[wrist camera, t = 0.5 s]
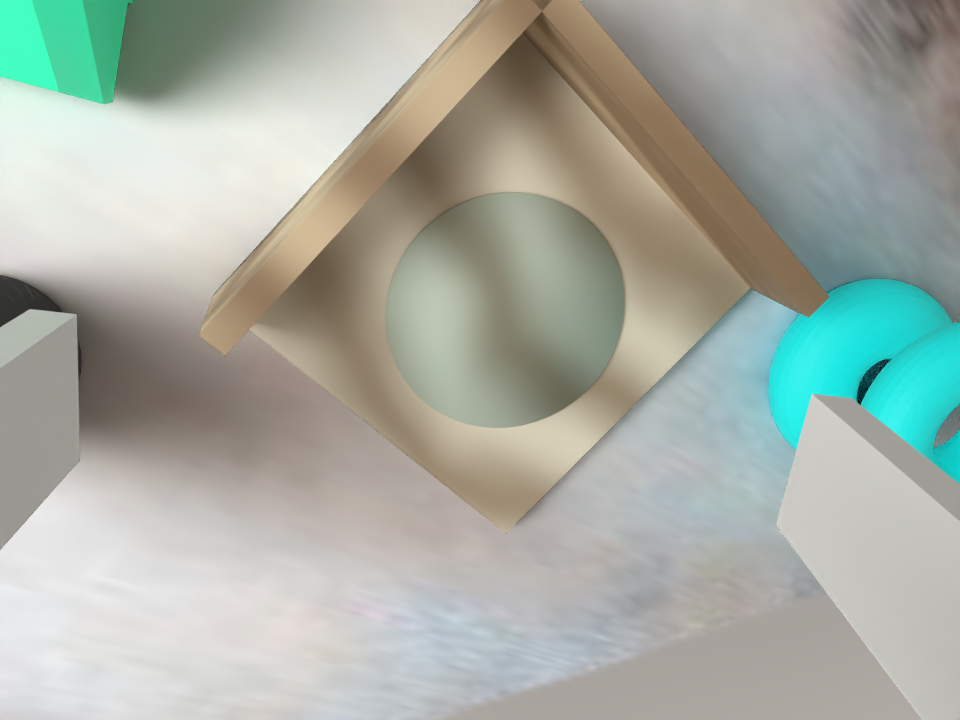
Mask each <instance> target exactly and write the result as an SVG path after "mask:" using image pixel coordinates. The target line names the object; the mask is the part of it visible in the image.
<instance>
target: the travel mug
mask: <svg viewBox="0 0 960 720" xmlns="http://www.w3.org/2000/svg"><path fill="white" fill-rule="evenodd" d="M29 309H33V310H42V311H52V312H61V313H63V312H62V311H61V310H60V309H59V308H58V307H57V305H56V304H55V303H54V302H52V301H51V300H50V299H49V298H48V297H46V296H45V295H44V294H42V293H41V292H39V291H38V290H36V289H34V288H33V287H31V286H29V285H27V284H25V283H22V282H20V281H17V280H14V279H11V278H7V277H3V276H0V327H2V326H3V325H5V324H7V323H8V322H10V321H11V320H13V319H15V318H16V317H18V316H20V315H21V314H23V313H25V312H26V311H28V310H29ZM77 344H78V382H79V377H80V373H81V351H80V347H79V342H78V339H77Z"/></svg>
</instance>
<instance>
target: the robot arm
mask: <svg viewBox="0 0 960 720" xmlns="http://www.w3.org/2000/svg"><path fill="white" fill-rule="evenodd" d="M79 461H80V437H79V391H78V344H77V314H70V313H61V312H52V311H42V310H33V309H29V310H28V311H26V312H25V313H23V314H21V315H20V316H18V317H16V318H15V319H13V320H11V321H10V322H8V323H7V324H5V325H3V326H2V327H0V550H1V549H2V547H3V546H4V545H5V544H6V543H7V542H8V541H9V540H10V538H11V537H12V536H13V535H14V534H15V533H16V532H17V531H18V529H19V528H20V527H21V526H22V525H23V524H24V523H25V522H26V520H27V519H28V518H29V517H30V516H31V515H32V514H33V513H34V511H35V510H36V509H37V508H38V507H39V506H40V505H41V504H42V502H43V501H44V500H45V499H46V498H47V497H48V496H49V495H50V493H51V492H52V491H53V490H54V489H55V488H56V487H57V486H58V484H59V483H60V482H61V481H62V480H63V479H64V478H65V477H66V475H67V474H68V473H69V472H70V471H71V470H72V469H73V467H74V466H75V465H76V464H77V463H78V462H79ZM776 526H777V527H778V528H779V530H780V531H781V532H782V534H783V535H784V536H785V538H786V539H787V540H788V542H789V543H790V544H791V546H792V547H793V548H794V550H795V551H796V552H797V554H798V555H799V556H800V558H801V559H802V560H803V562H804V563H805V564H806V566H807V567H808V568H809V570H810V571H811V572H812V574H813V575H814V576H815V578H816V579H817V580H818V582H819V583H820V584H821V586H822V587H823V588H824V590H825V591H826V592H827V594H828V595H829V596H830V598H831V599H832V600H833V602H834V603H835V604H836V605H837V607H838V608H839V610H840V611H841V612H842V614H843V615H844V616H845V618H846V619H847V620H848V622H849V623H850V624H851V626H852V627H853V628H854V630H855V631H856V632H857V634H858V635H859V636H860V638H861V639H862V640H863V642H864V643H865V644H866V646H867V647H868V648H869V650H870V651H871V653H872V654H873V655H874V657H876V659H877V661H878V662H879V663H880V664H881V666H882V667H883V669H884V670H885V671H886V672H887V674H888V675H889V677H890V678H891V679H892V681H893V682H894V683H895V685H896V686H897V687H898V689H899V690H900V691H901V692H902V694H903V695H904V696H905V698H906V699H907V701H908V702H909V703H910V705H911V706H912V707H913V709H914V710H915V711H916V712H917V714H918V715H919V717H920V718H921V719H922V720H960V484H959V483H958V482H956V481H955V480H954V479H953V478H951V477H950V476H949V475H948V474H946V473H945V472H944V471H943V470H941V469H940V468H939V467H938V466H936V465H935V464H934V463H933V462H931V461H930V460H929V459H927V458H926V457H925V456H924V455H922V454H921V453H920V452H919V451H917V450H916V449H915V448H914V447H912V446H911V445H910V444H909V443H907V442H906V441H905V440H904V439H902V438H901V437H900V436H899V435H897V434H896V433H895V432H893V431H892V430H891V429H890V428H888V427H887V426H886V425H885V424H883V423H882V422H881V421H880V420H878V419H877V418H876V417H875V416H873V415H872V414H871V413H870V412H868V411H867V410H866V409H864V408H863V407H862V406H861V405H859V404H858V403H857V402H856V401H854V400H853V399H852V398H846V397H837V396H828V395H818V394H812V396H811V399H810V403H809V407H808V410H807V414H806V417H805V421H804V424H803V428H802V432H801V435H800V439H799V442H798V446H797V450H796V453H795V457H794V460H793V464H792V468H791V471H790V475H789V478H788V482H787V486H786V489H785V493H784V496H783V500H782V504H781V507H780V511H779V514H778V518H777V522H776Z"/></svg>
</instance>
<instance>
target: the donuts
mask: <svg viewBox="0 0 960 720" xmlns="http://www.w3.org/2000/svg"><path fill="white" fill-rule="evenodd" d="M827 295H828V296H829V298H828V299H827V300H826V301H825V302H824V303H823V304H822V305H821V306H820V307H819V308H818V309H817V310H816V311H815V312H814V313H813V314H812V315H811V316H810V317H809V318H808V317H806V316H804V315H802V314H800V315H799V316H798V317H797V318H796V319H795V320H794V321H793V323H792V324H791V325H790V326H789V328H788V329H787V331H786V332H785V334H784V336H783V337H782V339H781V341H780V343H779V345H778V347H777V350H776V352H775V355H774V358H773V361H772V364H771V369H770V374H769V384H768V389H769V403H770V408H771V412H772V416H773V418H774V421H775V423H776V425H777V427H778V429H779V431H780V432H781V434H782V435H783V437H784V438H785V440H786V441H787V442H788V443H789V444H790V445H791V446H792V447H793V448H794V449H795V450H797V446H798V442H799V439H800V435H801V432H802V428H803V424H804V421H805V417H806V414H807V410H808V407H809V403H810V399H811V396H812V394H818V395H828V396H837V397H846V398H852V399H853V400H854V401H856V402H857V390H858V387H859V383H860V381H861V379H862V377H863V376H864V374H865V373H866V372H867V371H868V370H869V369H870V368H871V367H872V366H873V365H875V364H876V363H878V362H879V361H882V360H884V359H891V360H890V361H889V362H888V363H887V364H886V366H885V367H884V368H883V369H882V370H881V371H880V373H879V374H878V375H877V377H876V378H875V379H874V381H873V382H872V384H871V386H870V387H869V389H868V391H867V392H866V394H865V396H864V398H863V400H862V403H861V406H862V407H863V408H864V409H866V410H867V411H868V412H870V413H871V414H872V415H873V416H875V417H876V418H877V419H878V420H880V421H881V422H882V423H883V424H885V425H886V426H887V427H888V428H890V429H891V430H892V431H893V432H895V433H896V434H897V435H899V436H900V437H901V438H902V439H904V440H905V441H906V442H907V443H909V444H910V445H911V446H912V447H914V448H915V449H916V450H917V451H919V452H920V453H921V454H922V455H924V456H925V457H926V458H927V459H929V460H930V461H931V462H933V463H934V464H935V465H936V466H938V467H939V468H940V469H941V470H943V471H944V472H945V473H946V474H948V475H949V476H950V477H951V478H953V479H954V480H955V481H956V482H958V483H959V484H960V430H959V431H958V432H957V433H956V434H955V436H954V437H952V438H951V439H950V440H949V441H947V442H946V443H944V444H943V445H940V446H938V447H935V448H933V444H934V441H935V438H936V435H937V432H938V430H939V428H940V427H941V425H942V423H943V422H944V420H945V419H946V418H947V416H948V415H949V414H950V413H951V412H952V411H953V410H954V409H955V408H956V407H957V406H958V405H959V404H960V322H956V323H952V321H951V319H950V317H949V316H948V314H947V313H946V311H945V310H944V309H943V307H942V306H941V305H940V304H939V303H938V302H937V301H936V300H935V299H934V298H933V297H931V296H930V295H929V294H927V293H926V292H925V291H923V290H921V289H919V288H917V287H915V286H913V285H910V284H907V283H904V282H901V281H897V280H891V279H867V280H860V281H856V282H852V283H849V284H846V285H843V286H840V287H838V288H836V289H834V290H832V291H830V292H828V293H827Z"/></svg>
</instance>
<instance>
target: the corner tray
mask: <svg viewBox="0 0 960 720" xmlns="http://www.w3.org/2000/svg"><path fill="white" fill-rule="evenodd" d="M750 288H751V289H753V290H755V291H756V292H758V293H760V294H762V295H764V296H766V297H768V298H770V299H772V300H774V301H776V302H778V303H780V304H782V305H784V306H786V307H788V308H790V309H792V310H794V311H796V312H798V313H800V314H802V315H804V316H806V317H808V318H809V317H810V316H811V315H812V314H813V313H814V312H815V311H816V310H817V309H818V308H819V307H820V306H821V305H822V304H823V303H824V302H825V301H826V300H827V299H828V298H829V296H828V295H827V293H826V292H825V291H824V290H823V289H822V287H821V286H820V285H819V284H818V283H817V282H816V280H815V279H814V278H813V277H812V276H811V274H810V273H809V272H808V271H807V270H806V268H805V267H804V266H803V265H802V264H801V263H800V261H799V260H798V259H797V258H796V257H795V255H794V254H793V253H792V252H791V251H790V250H789V248H788V247H787V246H786V245H785V244H784V242H783V241H782V240H781V239H780V238H779V237H778V235H777V234H776V233H775V232H774V231H773V229H772V228H771V227H770V226H769V225H768V224H767V222H766V221H765V220H764V219H763V218H762V216H761V215H760V214H759V213H758V212H757V211H756V209H755V208H754V207H753V206H752V205H751V203H750V202H749V201H748V200H747V199H746V197H745V196H744V195H743V194H742V193H741V192H740V190H739V189H738V188H737V187H736V186H735V184H734V183H733V182H732V181H731V180H730V179H729V177H728V176H727V175H726V174H725V173H724V171H723V170H722V169H721V168H720V167H719V166H718V164H717V163H716V162H715V161H714V160H713V158H712V157H711V156H710V155H709V154H708V153H707V151H706V150H705V149H704V148H703V147H702V145H701V144H700V143H699V142H698V141H697V139H696V138H695V137H694V136H693V135H692V134H691V132H690V131H689V130H688V129H687V128H686V126H685V125H684V124H683V123H682V122H681V121H680V119H679V118H678V117H677V116H676V115H675V113H674V112H673V111H672V110H671V109H670V108H669V106H668V105H667V104H666V103H665V102H664V100H663V99H662V98H661V97H660V96H659V95H658V93H657V92H656V91H655V90H654V89H653V87H652V86H651V85H650V84H649V83H648V81H647V80H646V79H645V78H644V77H643V76H642V74H641V73H640V72H639V71H638V70H637V68H636V67H635V66H634V65H633V64H632V63H631V61H630V60H629V59H628V58H627V57H626V55H625V54H624V53H623V52H622V51H621V50H620V48H619V47H618V46H617V45H616V44H615V42H614V41H613V40H612V39H611V38H610V37H609V35H608V34H607V33H606V32H605V31H604V29H603V28H602V27H601V26H600V25H599V23H598V22H597V21H596V20H595V19H594V18H593V16H592V15H591V14H590V13H589V12H588V10H587V9H586V8H585V7H584V6H583V5H582V3H581V2H580V1H579V0H481V1H480V2H479V3H478V4H477V5H476V6H475V7H474V8H473V9H472V11H471V12H470V13H469V14H468V15H467V16H466V17H465V18H464V19H463V20H462V22H461V23H460V24H459V25H458V26H457V27H456V28H455V29H454V30H453V31H452V33H451V34H450V35H449V36H448V37H447V38H446V39H445V40H444V41H443V42H442V44H441V45H440V46H439V47H438V48H437V49H436V50H435V51H434V52H433V53H432V55H431V56H430V57H429V58H428V59H427V60H426V61H425V62H424V63H423V64H422V66H421V67H420V68H419V69H418V70H417V71H416V72H415V73H414V74H413V75H412V77H411V78H410V79H409V80H408V81H407V82H406V83H405V84H404V85H403V86H402V88H401V89H400V90H399V91H398V92H397V93H396V94H395V95H394V96H393V97H392V99H391V100H390V101H389V102H388V103H387V104H386V105H385V106H384V107H383V108H382V110H381V111H380V112H379V113H378V114H377V115H376V116H375V117H374V118H373V119H372V121H371V122H370V123H369V124H368V125H367V126H366V127H365V128H364V129H363V130H362V132H361V133H360V134H359V135H358V136H357V137H356V138H355V139H354V140H353V142H352V143H351V144H350V145H349V146H348V147H347V148H346V149H345V150H344V151H343V153H342V154H341V155H340V156H339V157H338V158H337V159H336V160H335V161H334V162H333V164H332V165H331V166H330V167H329V168H328V169H327V170H326V171H325V172H324V173H323V175H322V176H321V177H320V178H319V179H318V180H317V181H316V182H315V183H314V184H313V186H312V187H311V188H310V189H309V190H308V191H307V192H306V193H305V194H304V195H303V197H302V198H301V199H300V200H299V201H298V202H297V203H296V204H295V205H294V206H293V208H292V209H291V210H290V211H289V212H288V213H287V214H286V215H285V216H284V217H283V219H282V220H281V221H280V222H279V223H278V224H277V225H276V226H275V227H274V228H273V230H272V231H271V232H270V233H269V234H268V235H267V236H266V237H265V238H264V239H263V241H262V242H261V243H260V244H259V245H258V246H257V247H256V248H255V249H254V250H253V252H252V253H251V254H250V255H249V256H248V257H247V258H246V259H245V260H244V261H243V263H242V264H241V265H240V266H239V267H238V268H237V269H236V270H235V271H234V272H233V274H232V275H231V276H230V277H229V278H228V279H227V280H226V281H225V282H224V283H223V285H222V286H221V287H220V288H219V289H218V290H217V291H216V292H215V293H214V295H213V298H212V300H211V303H210V306H209V308H208V311H207V314H206V316H205V319H204V322H203V324H202V327H201V330H200V332H199V335H198V336H199V337H201V338H202V339H203V340H205V341H206V342H207V343H209V344H210V345H211V346H212V347H214V348H215V349H216V350H218V351H219V352H220V353H222V354H223V355H224V356H225V355H226V354H227V353H228V352H229V351H230V350H231V349H232V348H233V347H234V346H235V344H236V343H237V342H238V341H239V340H240V339H241V338H242V337H243V336H244V335H245V334H246V332H247V331H248V330H250V331H251V332H253V333H254V334H255V335H256V336H258V337H259V338H260V339H261V340H263V341H264V342H265V343H266V344H268V345H269V346H270V347H271V348H273V349H274V350H275V351H277V352H278V353H279V354H280V355H282V356H283V357H284V358H285V359H287V360H288V361H289V362H290V363H292V364H293V365H294V366H295V367H297V368H298V369H299V370H300V371H302V372H303V373H304V374H305V375H307V376H308V377H309V378H311V379H312V380H313V381H314V382H316V383H317V384H318V385H319V386H321V387H322V388H323V389H324V390H326V391H327V392H328V393H329V394H331V395H332V396H333V397H334V398H336V399H337V400H338V401H340V402H341V403H342V404H343V405H345V406H346V407H347V408H348V409H350V410H351V411H352V412H353V413H355V414H356V415H357V416H358V417H360V418H361V419H362V420H363V421H365V422H366V423H367V424H368V425H370V426H371V427H372V428H374V429H375V430H376V431H377V432H379V433H380V434H381V435H382V436H384V437H385V438H386V439H387V440H389V441H390V442H391V443H392V444H394V445H395V446H396V447H397V448H399V449H400V450H401V451H403V452H404V453H405V454H406V455H408V456H409V457H410V458H411V459H413V460H414V461H415V462H416V463H418V464H419V465H420V466H421V467H423V468H424V469H425V470H426V471H428V472H429V473H430V474H431V475H433V476H434V477H435V478H437V479H438V480H439V481H440V482H442V483H443V484H444V485H445V486H447V487H448V488H449V489H450V490H452V491H453V492H454V493H455V494H457V495H458V496H459V497H460V498H462V499H463V500H464V501H466V502H467V503H468V504H469V505H471V506H472V507H473V508H474V509H476V510H477V511H478V512H479V513H481V514H482V515H483V516H484V517H486V518H487V519H488V520H489V521H491V522H492V523H493V524H494V525H496V526H497V527H498V528H500V529H501V530H502V531H503V532H505V533H507V532H508V531H509V530H510V529H511V528H512V527H513V526H514V525H515V524H516V523H517V522H518V521H519V520H520V519H521V518H522V517H523V516H524V515H525V514H526V513H527V512H528V511H529V510H530V509H531V508H532V507H533V506H534V505H535V504H536V503H537V502H538V501H539V500H540V499H541V498H542V497H543V496H544V495H545V494H546V493H547V492H548V491H549V490H550V489H551V488H552V487H553V486H554V485H555V484H556V483H557V482H558V481H559V480H560V479H561V478H562V477H563V476H564V475H565V474H566V473H567V472H568V471H569V470H570V469H571V468H572V467H573V466H574V465H575V464H576V463H577V462H578V461H579V460H580V459H581V458H582V457H583V456H584V455H585V454H586V453H587V452H588V451H589V450H590V449H591V448H592V447H593V446H594V445H595V444H596V443H597V442H598V441H599V440H600V439H601V438H602V437H603V436H604V435H605V434H606V433H607V432H608V431H609V430H610V429H611V428H612V427H613V426H614V425H615V424H616V423H617V422H618V421H619V420H620V419H621V418H622V417H623V416H624V415H625V414H626V413H627V412H628V411H629V410H630V409H631V408H632V407H633V406H634V405H635V404H636V403H637V402H638V401H639V400H640V399H641V398H642V396H643V395H644V394H645V393H646V392H647V391H648V390H649V389H650V388H651V387H652V386H653V385H654V384H655V383H656V382H657V381H658V380H659V379H660V378H661V377H662V376H663V375H664V374H665V373H666V372H667V371H668V370H669V369H670V368H671V367H672V366H673V365H674V364H675V363H676V362H677V361H678V360H679V359H680V358H681V357H682V356H683V355H684V354H685V353H686V352H687V351H688V350H689V349H690V348H691V347H692V346H693V345H694V344H695V343H696V342H697V341H698V340H699V339H700V338H701V337H702V336H703V335H704V334H705V333H706V332H707V331H708V330H709V329H710V328H711V327H712V326H713V325H714V324H715V323H716V322H717V321H718V320H719V319H720V318H721V317H722V316H723V315H724V314H725V313H726V312H727V311H728V310H729V309H730V308H731V307H732V306H733V305H734V304H735V303H736V302H737V301H738V300H739V299H740V298H741V297H742V296H743V295H744V294H745V293H746V292H747V291H748V290H749V289H750Z"/></svg>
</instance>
